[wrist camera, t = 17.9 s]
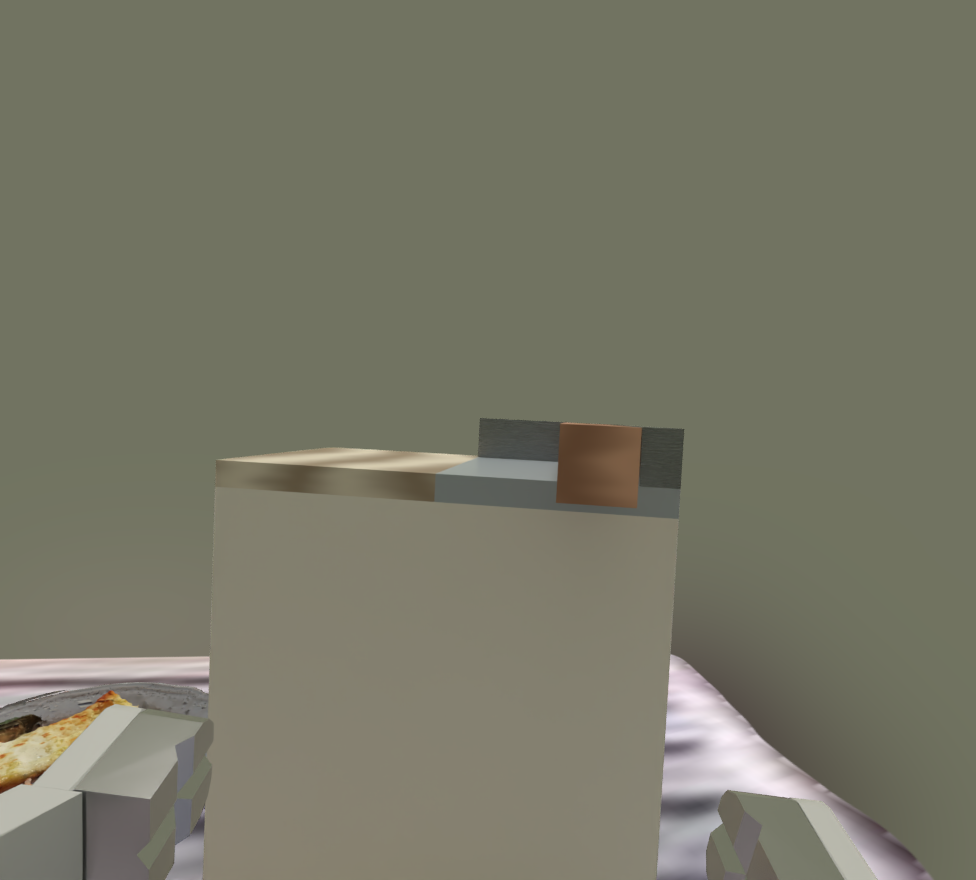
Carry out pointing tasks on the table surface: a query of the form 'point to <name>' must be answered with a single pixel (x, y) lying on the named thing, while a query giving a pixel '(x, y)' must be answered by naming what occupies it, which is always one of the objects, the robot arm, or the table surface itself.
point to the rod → (598, 465)
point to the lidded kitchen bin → (438, 664)
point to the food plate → (75, 722)
